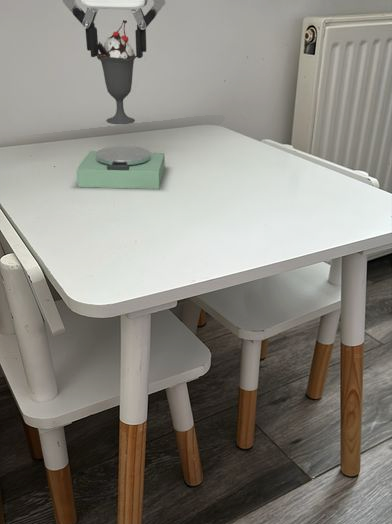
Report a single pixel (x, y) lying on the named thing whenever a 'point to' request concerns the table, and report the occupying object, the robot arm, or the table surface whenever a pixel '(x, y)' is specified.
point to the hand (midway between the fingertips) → (117, 55)
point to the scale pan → (122, 155)
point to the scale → (121, 173)
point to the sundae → (117, 72)
